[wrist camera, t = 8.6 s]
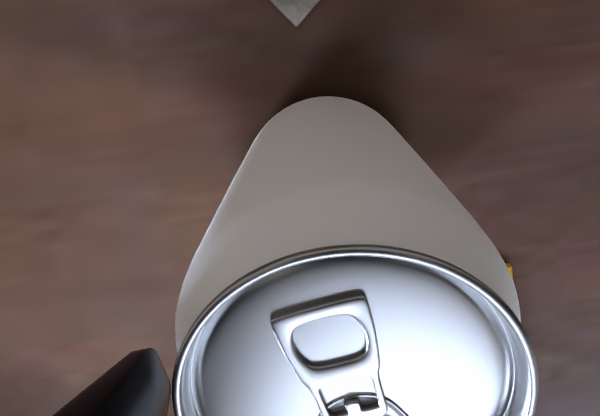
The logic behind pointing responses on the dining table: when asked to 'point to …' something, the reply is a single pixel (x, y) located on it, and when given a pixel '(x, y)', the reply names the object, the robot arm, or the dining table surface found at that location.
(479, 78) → the dining table surface
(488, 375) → the can
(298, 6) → the condiment
